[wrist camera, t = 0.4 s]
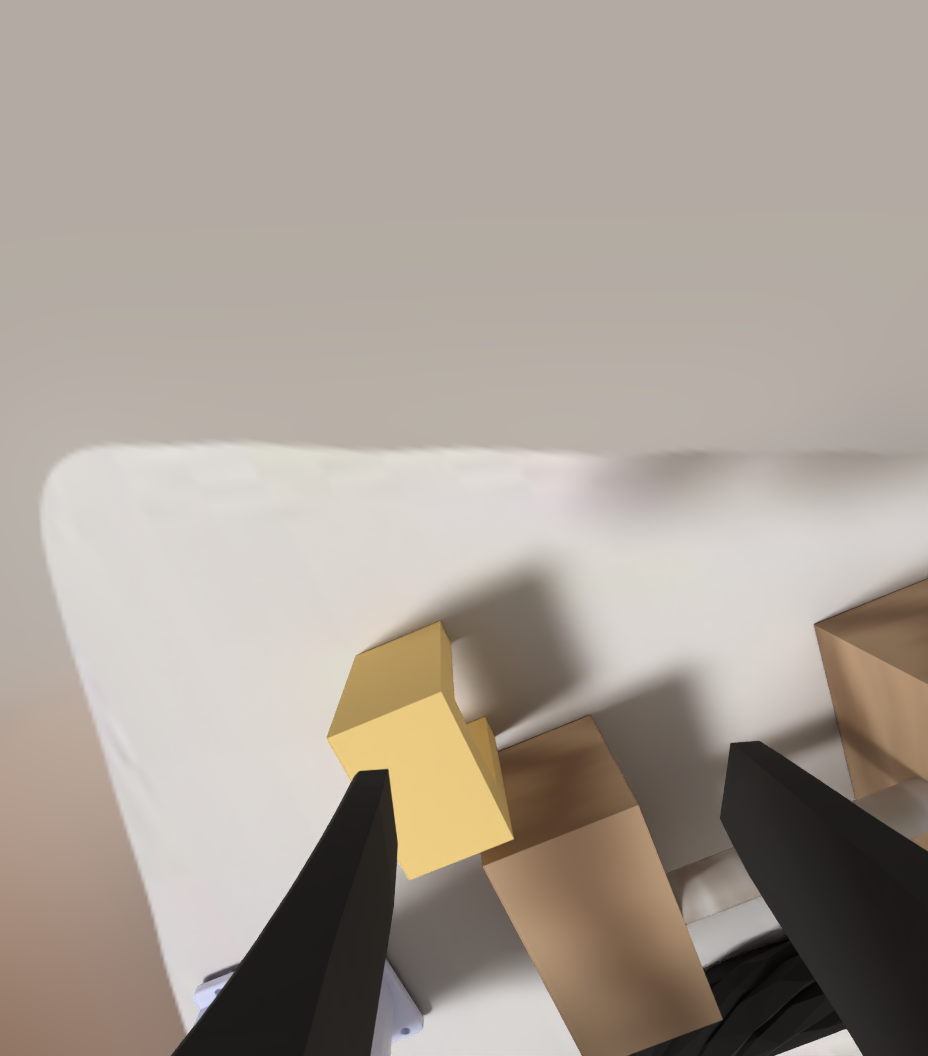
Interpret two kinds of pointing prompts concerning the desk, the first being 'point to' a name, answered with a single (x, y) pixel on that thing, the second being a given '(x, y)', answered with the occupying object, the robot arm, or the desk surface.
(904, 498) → the desk surface
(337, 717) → the yellow block
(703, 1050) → the cable lock
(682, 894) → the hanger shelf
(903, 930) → the robot arm
